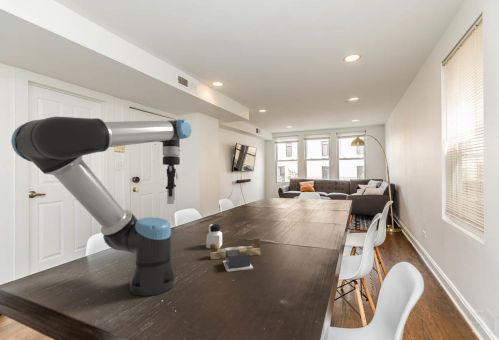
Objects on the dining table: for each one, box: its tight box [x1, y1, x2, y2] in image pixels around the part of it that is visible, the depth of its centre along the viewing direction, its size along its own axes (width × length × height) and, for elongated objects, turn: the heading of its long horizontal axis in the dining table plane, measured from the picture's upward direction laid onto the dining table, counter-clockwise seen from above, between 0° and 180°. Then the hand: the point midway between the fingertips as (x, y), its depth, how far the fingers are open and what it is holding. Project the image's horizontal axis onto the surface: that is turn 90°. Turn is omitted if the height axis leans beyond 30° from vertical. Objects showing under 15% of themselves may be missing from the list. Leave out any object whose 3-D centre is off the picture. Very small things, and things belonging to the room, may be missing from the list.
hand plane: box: [209, 237, 261, 260], centre depth 118 cm, size 24×5×8 cm, turn 106°
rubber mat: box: [222, 260, 254, 273], centre depth 105 cm, size 11×11×1 cm
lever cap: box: [225, 248, 251, 269], centre depth 105 cm, size 9×8×6 cm
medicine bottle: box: [206, 223, 223, 249], centre depth 132 cm, size 7×7×12 cm
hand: (171, 202), depth 112 cm, fingers open, 13 cm apart
